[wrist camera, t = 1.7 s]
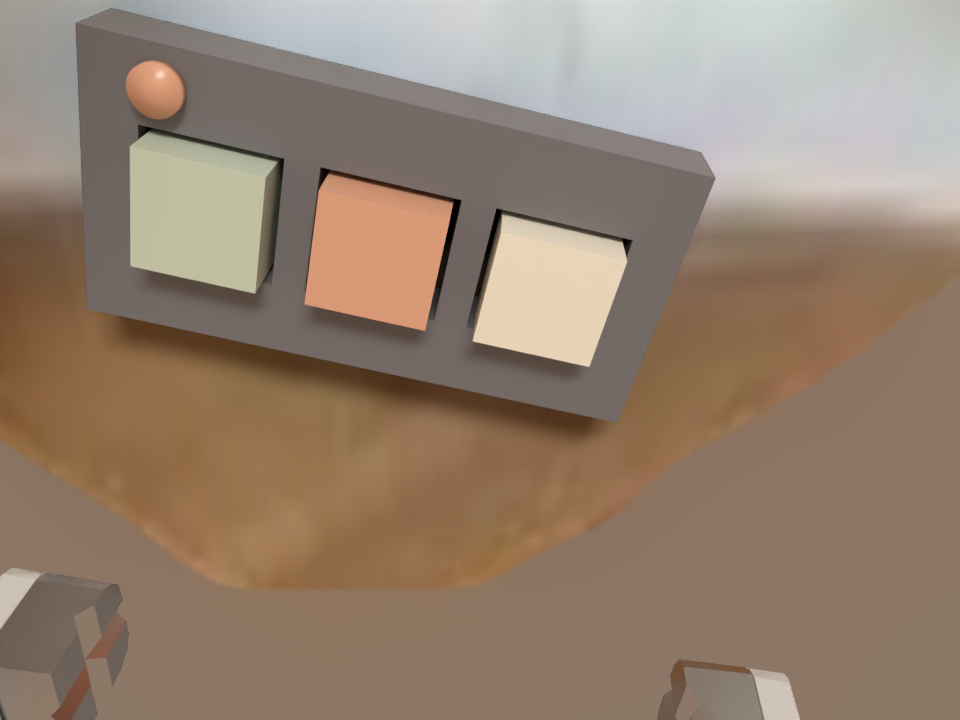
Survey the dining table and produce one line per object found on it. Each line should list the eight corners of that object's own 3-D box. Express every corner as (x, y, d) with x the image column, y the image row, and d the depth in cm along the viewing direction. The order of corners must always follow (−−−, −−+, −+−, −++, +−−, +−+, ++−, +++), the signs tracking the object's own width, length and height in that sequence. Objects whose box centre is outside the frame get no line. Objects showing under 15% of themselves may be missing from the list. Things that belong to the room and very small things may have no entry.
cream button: (476, 306, 36) (472, 341, 34) (502, 202, 34) (501, 232, 31) (584, 330, 37) (589, 366, 34) (619, 230, 34) (627, 261, 31)
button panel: (116, 277, 38) (80, 315, 35) (111, 8, 32) (67, 26, 29) (611, 385, 40) (618, 430, 37) (701, 152, 34) (718, 183, 31)
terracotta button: (320, 271, 36) (304, 304, 33) (334, 163, 33) (318, 190, 30) (431, 296, 36) (425, 330, 34) (455, 191, 33) (449, 220, 31)
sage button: (158, 235, 35) (130, 266, 33) (160, 122, 32) (129, 146, 30) (274, 261, 36) (255, 293, 33) (285, 151, 33) (265, 177, 30)
